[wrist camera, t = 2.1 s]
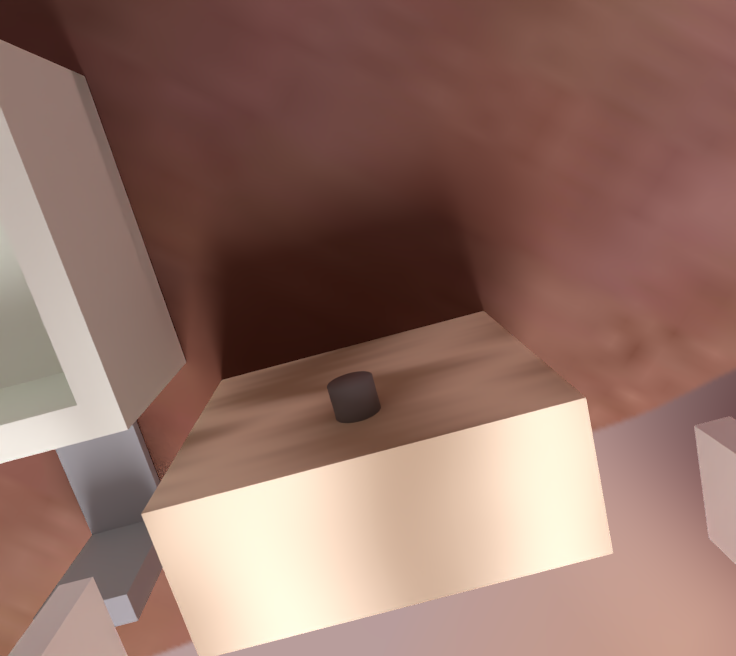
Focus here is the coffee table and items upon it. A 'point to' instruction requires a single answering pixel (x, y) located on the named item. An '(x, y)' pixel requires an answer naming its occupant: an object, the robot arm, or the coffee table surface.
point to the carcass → (79, 321)
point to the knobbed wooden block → (375, 484)
